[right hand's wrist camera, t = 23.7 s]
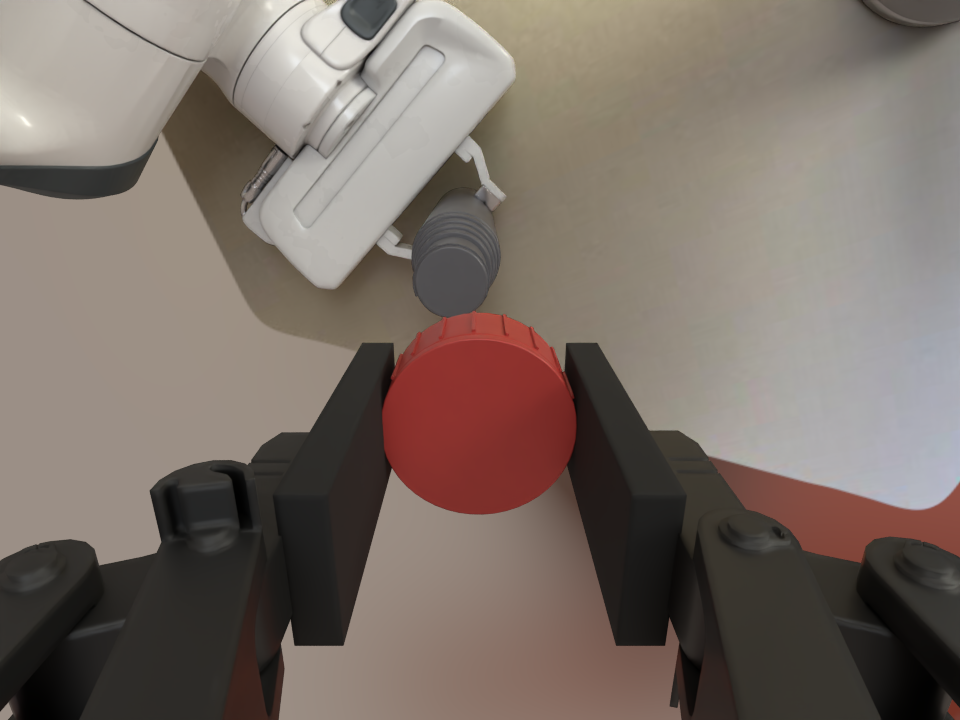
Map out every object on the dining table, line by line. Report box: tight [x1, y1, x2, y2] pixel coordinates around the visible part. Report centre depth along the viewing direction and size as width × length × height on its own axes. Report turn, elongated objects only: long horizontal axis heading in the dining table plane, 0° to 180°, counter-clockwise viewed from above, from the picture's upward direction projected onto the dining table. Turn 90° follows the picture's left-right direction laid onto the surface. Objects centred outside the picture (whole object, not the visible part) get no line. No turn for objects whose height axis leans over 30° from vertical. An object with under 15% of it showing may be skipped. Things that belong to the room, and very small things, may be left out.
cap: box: [382, 311, 577, 514], centre depth 13 cm, size 4×4×2 cm
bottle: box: [411, 188, 501, 318], centre depth 36 cm, size 5×5×24 cm
